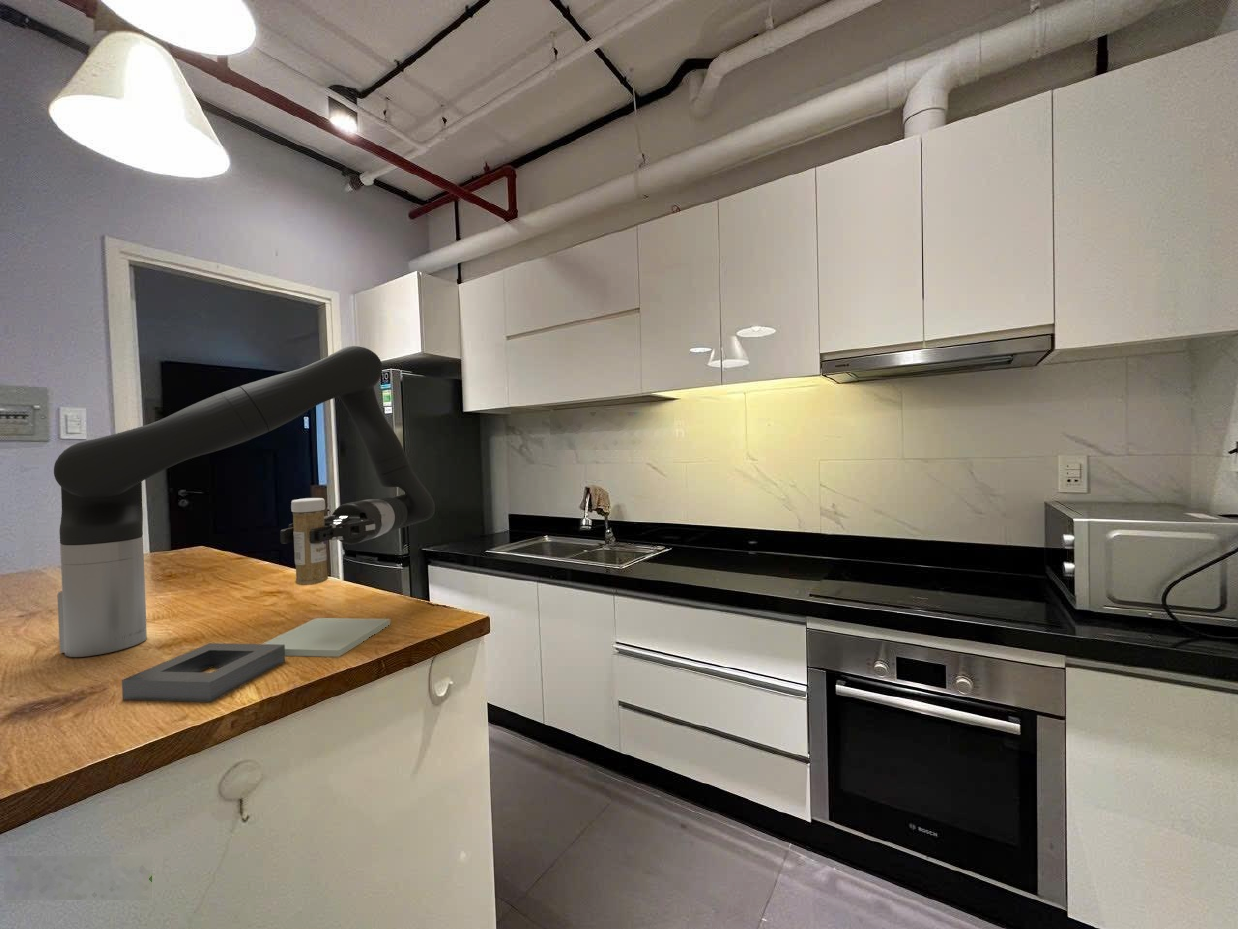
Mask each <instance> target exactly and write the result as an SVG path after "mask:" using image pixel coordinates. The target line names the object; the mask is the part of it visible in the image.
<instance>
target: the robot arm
mask: <svg viewBox="0 0 1238 929" xmlns="http://www.w3.org/2000/svg"><path fill="white" fill-rule="evenodd" d="M382 373H383V364H382V360H381V359H380V357H379V356H378V355H377V354H376V352H374V351H373V350H371V349H369V348H366V347H364V346H359V345H358V346H356V345H353V346H345V347H343V348H341V349H339V350H337V351H335V352H333V353H331V354H330V355H327V356H326V357H324V358H322V359H319V360H317V361H314V362H313V363H310V364H308V365H306V366H304V367H300V368H297V369H294V370H291V371H287V372H283V373H279V374H275V375H272V376H269V377H265V378H261V379H258V380H256V381H252V382H249V383H248V382H247V383H246V384H242V385H240V386H237V387H234V388H231V389H228V390H226V391H223V392H220V393H217V394H214V395H212V396H210V397H209V396H208V397H207V398H205V399H202V400H200V401H197V402H196V403H193V404H191V405H189V406H186V407H185V408H182V409H180V410H178V411H175V412H174V413H172V414H170V415H168V416H166V417H163V418H161V419H159V420H157V421H154V422H152V423H149V424H145V425H141V426H139V427H135V428H131V429H127V430H124V431H121V432H117V433H114V434H110V435H105V436H102V437H97V438H95V439H94V438H93V439H88V440H85V441H81V442H80V441H79V442H77V443H75V444H73V445H71V446H69V447H67V448H66V449H64V450H63V451H62V452H61V453H60V454H59V456H58V457H57V459H56V460H55V462H54V466H53V474H54V475H53V476H54V480H55V481H56V482H57V484H58V485H59V487H60V496H61V498H60V499H61V516H60V525H59V546H60V548H59V549H60V569H61V571H60V572H61V591H59V592H58V593H57V616H58V617H57V618H58V619H57V620H58V643H59V653H64V656H66V657H70V658H81V657H82V658H83V657H91V656H97V655H104V654H109V653H110V654H111V653H112V652H117V651H121V650H125V649H128V648H131V647H134V646H137V645H139V644H141V643H143V642H145V641H146V640H147V638H148V636H147V635H148V633H147V608H146V607H147V605H146V604H147V603H146V584H145V583H146V582H145V581H146V578H145V553H144V536H143V535H144V529H143V528H144V511H143V510H144V508H143V481H146V479H149V478H151V477H153V476H155V475H157V474H159V473H161V472H163V471H164V470H167V469H169V468H172V467H173V466H175V465H177V464H180V463H182V462H184V461H188V460H191V459H193V458H197V457H201V456H203V455H208V454H211V453H214V452H218V451H221V450H225V449H228V448H231V447H233V446H236V445H239V444H243V443H245V442H248V441H250V440H253V439H254V438H257V437H259V436H262V435H264V434H267V433H268V432H271V431H274V430H276V429H277V428H280V427H282V426H284V425H286V424H287V423H289V422H291V421H293V420H295V419H297V418H298V417H300V416H301V415H303V414H305V413H306V412H308V411H309V410H312V409H313V408H314V407H317V406H319V405H320V404H323V403H325V402H328V401H330V400H333V399H336V398H339V399H340V400H341V402H342V404H343V405H344V407H345V409H346V410H347V413H348V414H349V416H350V418H351V420H352V422H353V423H354V426H355V427H356V430H357V432H358V434H359V436H360V439H361V441H362V443H363V446H364V448H365V451H366V452H367V455H368V457H369V460H370V463H371V465H372V467H373V470H374V472H375V474H376V477H377V479H378V482H379V484H380V485H381V486H382V487H384V488H400V490H402V491H403V492H404V494H401V495H397V496H393V497H389V496H387V497H381V498H377V499H373V498H371V499H370V498H369V499H363V500H357V501H352V502H347V503H343V504H341V505H339V506H337V508H335V509H334V511H333V512H332V514H330V515H324V523H325V526H324V527H319V528H315V529H311V530H310V543H320V542H323V541H326V542H327V541H339V542H341V543H343V544H345V545H346V544H347V545H357V544H359V543H363V542H366V541H369V540H372V539H375V538H378V537H380V536H383V535H384V534H387V533H389V532H390V533H391V532H393V531H395V530H399V529H402V528H406V527H409V526H412V525H416V524H419V523H423V522H425V521H429V520H430V519H431V518H432V517H433V516H434V514H435V508H436V505H435V501H434V499H433V496H432V495H431V494H430V492H429V491H428V489H427V488H426V487H425V486H424V485H423V484H422V482H421V480H420V479H419V477H418V476H417V474H415V472H414V471H413V469H412V466H411V465H410V462H409V459H408V456H407V454H406V451H405V449H404V447H403V445H402V443H401V441H400V439H399V438H398V436H397V434H396V433H395V431H394V430H393V428H392V427H391V425H390V424H389V423H388V421H387V419H386V417H385V416H384V414H383V411H382V410H381V408H380V404H379V402H378V399H377V395H376V392H375V386H376V385H377V384H378V382H379V381H380V379H381V376H382ZM293 532H294V523H293V522H292V523H289V524H288V528H284V529H281V530H280V532H279V535H280V536H279V539H280V540H279V541H280V544H289V543H290V544H291V543H294V535H293Z"/></svg>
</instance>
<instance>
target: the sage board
mask: <svg viewBox="0 0 1238 929" xmlns="http://www.w3.org/2000/svg"><path fill="white" fill-rule="evenodd" d="M388 625H389V626H390V625H391V619H390V618H351V617H350V618H343V617H342V618H338V617H336V618H335V617H327V618H326V617H315V618H314V619H312V620H311V619H310V620H309V621H307V622H304V623H303V624H300V625H299V626H297V627H294V628H292V629H290V630H288V631H287V632H286V631H285V632H283V633H281V634H279V635H278V636H275V637H273V638H271V639H269V640H267V641H265V642H263V643H262V644H278V645H285V657H286V656H287V657H288V656H289V657H326V658H327V657H330V658H340V657H341V656H342V655H344V654H346V653H347V652H349V651H350V650H353V649H354V648H356V647H357V646H359V645H360V644H362V643H363V641H364V642H365V641H366V640H367V641H368V639H370V638H372V637H373V636H375V635H376V634H378V633H379V632H381V631H383V630H384V629H386V628H387V627H389V626H388ZM385 627H386V628H385ZM382 629H383V630H382ZM374 634H375V635H374ZM372 635H373V636H372ZM371 636H372V637H371ZM369 637H370V638H369Z"/></svg>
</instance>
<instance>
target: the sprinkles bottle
mask: <svg viewBox="0 0 1238 929" xmlns="http://www.w3.org/2000/svg"><path fill="white" fill-rule="evenodd" d="M325 501H326V500H325V499H324V498H323V497H305V498H299V499H292V500H291V502H290V503H291V504H290V509H291V510H290V511H291V512H292V521H293V522H292V523H294V532H293V535H294V542H293V551H294V552H293V554H294V564H295V582H294V583H295V584H296V585H298V586H312V585H313V586H314V585H317V584H321V583H324V582H326V581H327V580H329V576H328V569H327V566H328V565H327V559H328V558H327V541H323V542H320V543H310V530H311V529H315V528H319V527H324V526H325V523H324V516H325V510H326V502H325Z"/></svg>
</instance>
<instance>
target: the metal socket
mask: <svg viewBox="0 0 1238 929" xmlns="http://www.w3.org/2000/svg"><path fill="white" fill-rule="evenodd" d="M285 662H286V656H285V645H278V644H263V643H223V642H222V643H218V642H216V643H215V642H214V643H213V642H212V643H211V642H209V643H207V644H205V645H202V646H199V647H196V648H195V649H193V650H190V651H188V652H185V653H183V654H180V655H178V656H176V657H173V658H171V659H169V660H168V659H167V660H166V661H163V662H160V663H159V664H157V665H154V666H151V667H149V668H148V669H144V670H142V671H140V672H137V673H135V674H133V675H130V676H128V677H126V678H122V679H121V689H122V690H121V692H122V693H121V694H122V700H123V701H125V700H126V701H154V702H155V701H156V702H157V701H159V702H187V703H212V702H215V701H216V700H218V699H219V698H221V697H224V696H225V695H227V694H229V693H231V692H232V691H234V690H237V689H238V688H239V687H242V686H243V685H245V684H247V683H248V682H251V681H252V680H254V679H256V678H258V677H260V676H262V675H264V674H265V673H267V672H269V671H271V670H273V669H274V668H277V667H278V666H280V665H281V664H284V663H285ZM210 668H217V669H215V670H213V671H210V672H203V671H206V670H207V669H210ZM261 674H262V675H261ZM250 680H251V681H250Z"/></svg>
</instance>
